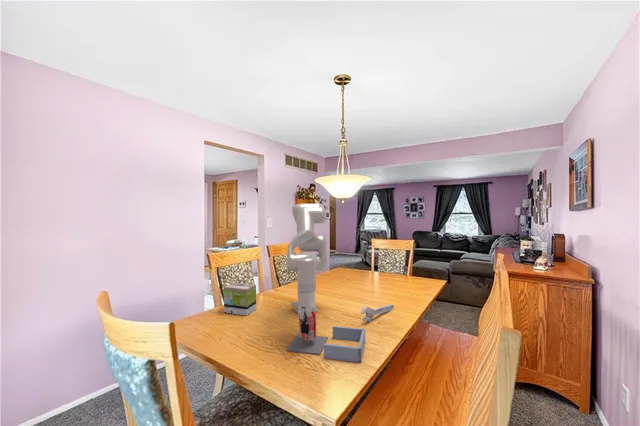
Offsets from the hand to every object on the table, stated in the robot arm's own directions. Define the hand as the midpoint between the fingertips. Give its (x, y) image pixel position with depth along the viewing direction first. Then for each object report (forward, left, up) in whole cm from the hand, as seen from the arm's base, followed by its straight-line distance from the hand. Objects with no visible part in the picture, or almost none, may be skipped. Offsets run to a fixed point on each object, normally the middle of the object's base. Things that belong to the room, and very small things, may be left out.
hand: (307, 328), depth 113 cm
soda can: (0, 0, -4) cm, 4 cm away
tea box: (-48, +27, -7) cm, 55 cm away
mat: (0, 0, -7) cm, 7 cm away
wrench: (+28, +36, -7) cm, 46 cm away
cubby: (+16, 0, -7) cm, 17 cm away
